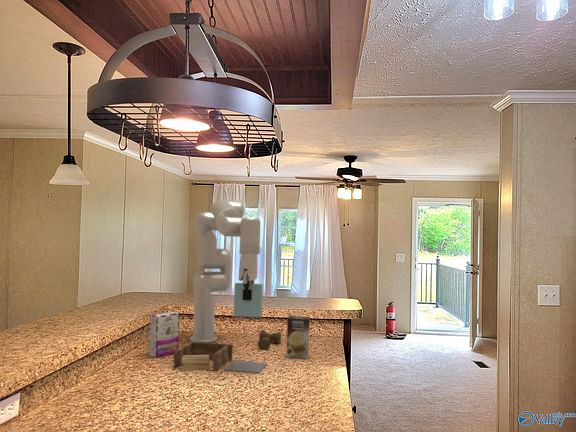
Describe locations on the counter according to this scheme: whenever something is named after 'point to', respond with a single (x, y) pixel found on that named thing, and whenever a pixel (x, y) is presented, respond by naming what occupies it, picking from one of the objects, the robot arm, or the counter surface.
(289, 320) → the coffee box
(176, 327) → the candy bar box
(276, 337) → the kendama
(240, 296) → the pale teal block
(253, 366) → the slate mat
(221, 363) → the frame
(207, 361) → the offcut stack
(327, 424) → the counter surface
